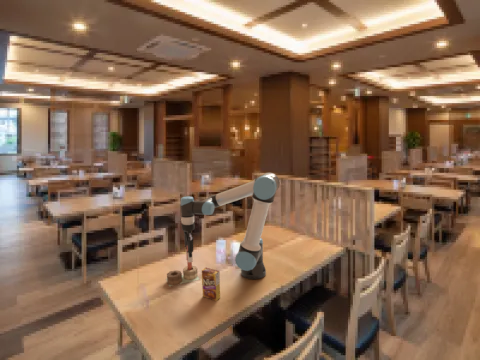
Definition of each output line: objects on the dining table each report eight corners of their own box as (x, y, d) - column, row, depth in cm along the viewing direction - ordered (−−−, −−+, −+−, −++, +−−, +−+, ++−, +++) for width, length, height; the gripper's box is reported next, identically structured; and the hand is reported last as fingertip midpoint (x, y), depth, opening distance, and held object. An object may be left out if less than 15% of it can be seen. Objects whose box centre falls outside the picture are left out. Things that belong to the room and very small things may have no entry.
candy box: (202, 297, 156) (201, 270, 153) (206, 293, 159) (205, 266, 157) (216, 301, 151) (215, 273, 149) (220, 297, 155) (219, 270, 152)
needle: (191, 269, 179) (190, 244, 176) (192, 271, 176) (191, 246, 174) (187, 270, 177) (186, 245, 175) (188, 272, 175) (187, 247, 173)
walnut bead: (179, 277, 177) (179, 269, 176) (183, 283, 170) (182, 275, 169) (166, 280, 173) (165, 272, 173) (169, 286, 166) (168, 278, 165)
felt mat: (195, 272, 183) (195, 272, 183) (199, 280, 174) (199, 279, 174) (165, 279, 175) (165, 278, 175) (169, 287, 166) (169, 286, 166)
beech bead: (195, 272, 183) (194, 264, 182) (198, 277, 175) (198, 270, 175) (182, 275, 179) (182, 267, 179) (185, 280, 172) (185, 272, 171)
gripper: (178, 220, 178) (180, 257, 181) (184, 227, 164) (186, 267, 167) (190, 218, 181) (192, 254, 184) (197, 225, 167) (199, 264, 170)
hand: (189, 260), depth 176 cm, fingers closed on needle, 2 cm apart
